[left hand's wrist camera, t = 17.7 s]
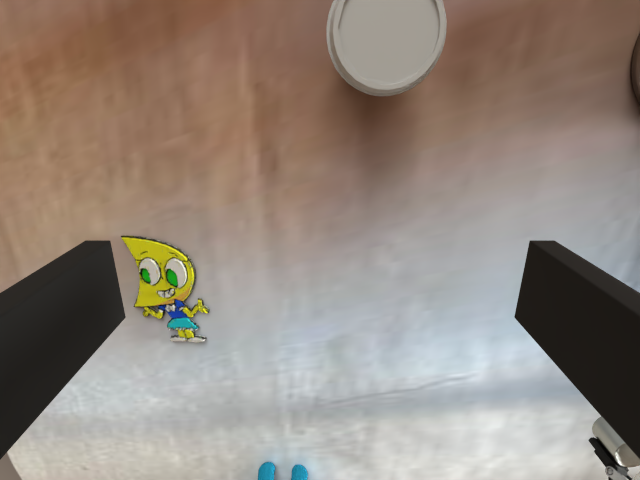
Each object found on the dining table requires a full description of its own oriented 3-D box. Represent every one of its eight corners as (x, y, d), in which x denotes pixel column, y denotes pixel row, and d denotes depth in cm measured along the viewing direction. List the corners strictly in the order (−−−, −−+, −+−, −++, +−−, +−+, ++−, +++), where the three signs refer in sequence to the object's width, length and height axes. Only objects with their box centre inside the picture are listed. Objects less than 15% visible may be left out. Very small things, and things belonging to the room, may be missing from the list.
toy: (135, 342, 53) (117, 238, 47) (138, 338, 53) (121, 235, 48) (210, 343, 53) (201, 239, 47) (212, 339, 53) (203, 237, 48)
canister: (587, 420, 53) (610, 447, 49) (622, 407, 53) (648, 434, 48) (597, 443, 55) (619, 472, 51) (631, 431, 54) (656, 459, 50)
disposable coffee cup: (339, -17, 39) (347, -63, 28) (428, 13, 40) (471, -20, 29) (314, 81, 42) (312, 76, 31) (397, 107, 43) (424, 111, 32)
